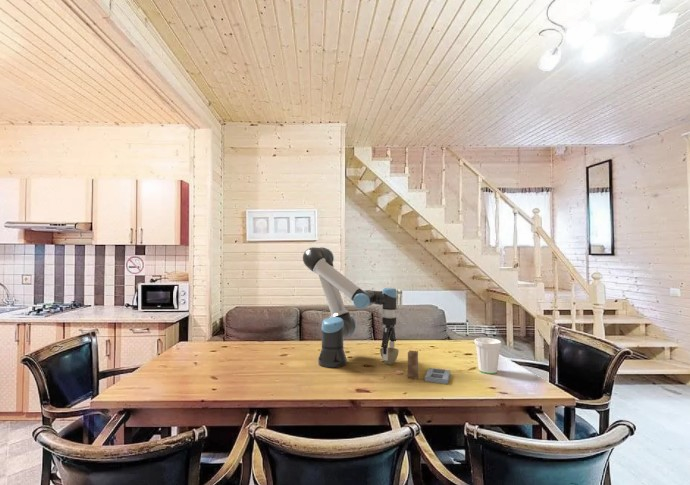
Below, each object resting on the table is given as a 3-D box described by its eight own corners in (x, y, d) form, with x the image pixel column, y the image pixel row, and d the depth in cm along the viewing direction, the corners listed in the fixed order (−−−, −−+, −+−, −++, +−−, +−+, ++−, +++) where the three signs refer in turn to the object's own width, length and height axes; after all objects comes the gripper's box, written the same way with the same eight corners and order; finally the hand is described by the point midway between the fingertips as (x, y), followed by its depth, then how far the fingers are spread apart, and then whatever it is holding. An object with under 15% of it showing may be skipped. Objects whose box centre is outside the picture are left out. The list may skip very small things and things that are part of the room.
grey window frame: (424, 381, 165) (424, 376, 165) (429, 371, 178) (429, 367, 178) (447, 384, 161) (447, 379, 161) (450, 374, 174) (450, 370, 174)
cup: (481, 365, 187) (481, 336, 188) (505, 371, 178) (505, 340, 179) (470, 371, 179) (470, 340, 179) (495, 377, 170) (494, 345, 170)
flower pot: (398, 366, 185) (398, 352, 186) (378, 365, 187) (378, 351, 188) (399, 361, 195) (399, 347, 195) (380, 359, 197) (380, 346, 197)
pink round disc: (392, 373, 175) (392, 373, 175) (394, 370, 180) (394, 369, 180) (402, 374, 173) (402, 374, 173) (404, 371, 178) (404, 371, 178)
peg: (407, 378, 168) (407, 352, 169) (409, 375, 172) (409, 350, 173) (416, 379, 167) (416, 353, 167) (417, 376, 171) (417, 351, 171)
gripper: (390, 321, 179) (389, 364, 179) (401, 313, 202) (400, 351, 202) (375, 320, 182) (375, 362, 181) (388, 312, 205) (387, 349, 205)
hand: (388, 356), depth 192 cm, fingers open, 13 cm apart
